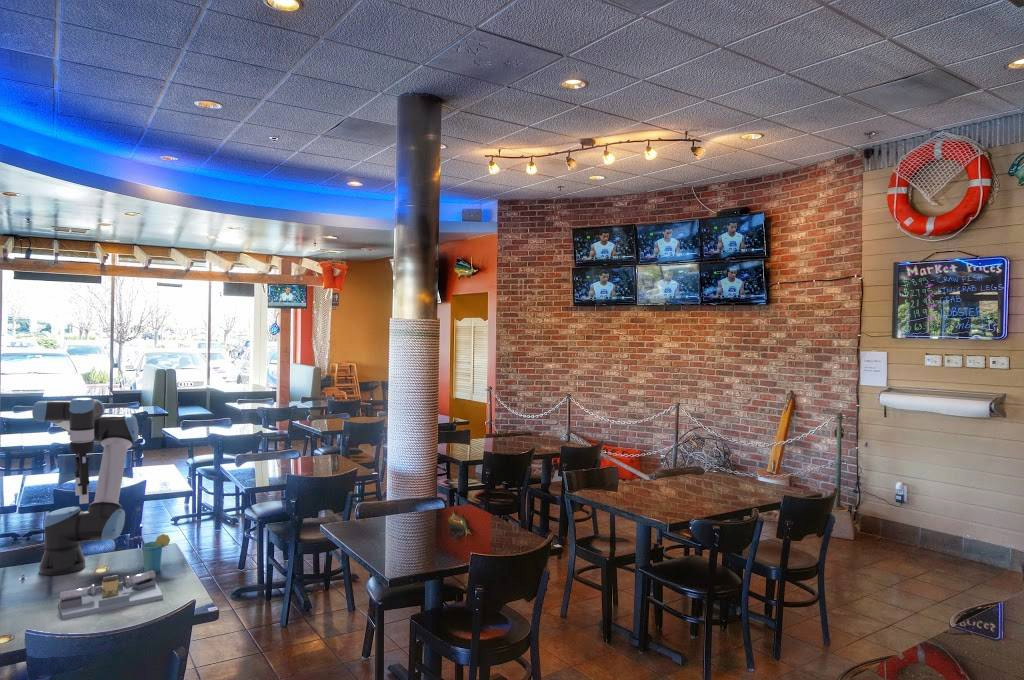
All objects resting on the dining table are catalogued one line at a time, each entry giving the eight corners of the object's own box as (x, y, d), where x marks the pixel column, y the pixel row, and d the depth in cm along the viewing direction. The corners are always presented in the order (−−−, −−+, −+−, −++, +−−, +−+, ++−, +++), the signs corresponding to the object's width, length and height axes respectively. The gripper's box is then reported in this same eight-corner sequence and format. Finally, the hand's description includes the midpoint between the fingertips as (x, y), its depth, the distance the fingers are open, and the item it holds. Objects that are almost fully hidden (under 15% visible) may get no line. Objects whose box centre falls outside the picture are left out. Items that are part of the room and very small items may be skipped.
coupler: (101, 596, 244) (101, 575, 243) (117, 593, 247) (117, 572, 246) (102, 601, 240) (102, 580, 239) (119, 598, 243) (119, 577, 242)
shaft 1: (59, 600, 236) (59, 588, 236) (94, 594, 242) (94, 582, 242) (60, 605, 233) (60, 592, 233) (95, 598, 239) (95, 586, 239)
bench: (58, 603, 241) (58, 593, 240) (154, 585, 259) (154, 575, 258) (62, 619, 229) (62, 608, 228) (162, 598, 247) (162, 588, 246)
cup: (131, 578, 264) (131, 539, 264) (127, 572, 270) (127, 534, 270) (171, 571, 273) (172, 533, 272) (166, 565, 279) (167, 528, 278)
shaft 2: (122, 590, 249) (122, 575, 249) (149, 582, 257) (149, 567, 257) (129, 594, 246) (129, 578, 246) (157, 585, 255) (157, 570, 255)
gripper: (66, 436, 260) (66, 493, 261) (73, 447, 240) (73, 508, 241) (89, 434, 265) (89, 490, 266) (98, 445, 245) (98, 505, 246)
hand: (81, 499), depth 253 cm, fingers open, 13 cm apart
